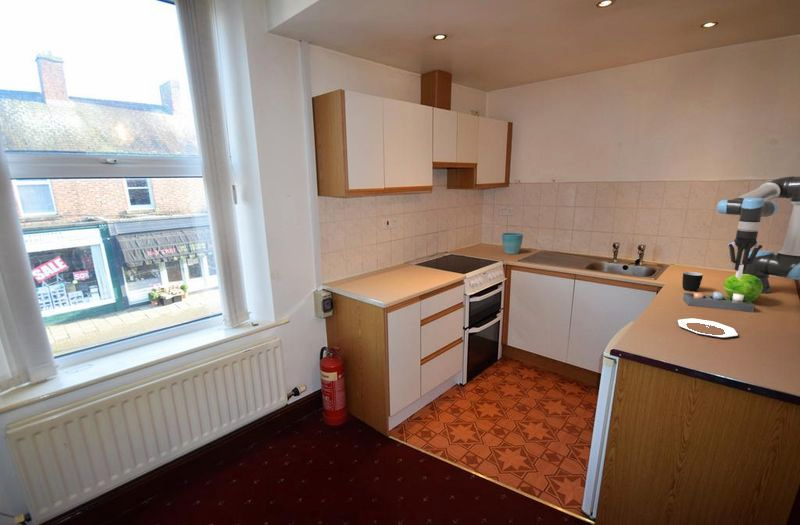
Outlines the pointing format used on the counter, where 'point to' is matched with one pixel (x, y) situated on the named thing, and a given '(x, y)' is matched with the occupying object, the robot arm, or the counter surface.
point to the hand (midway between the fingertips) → (738, 276)
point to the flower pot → (512, 242)
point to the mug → (691, 281)
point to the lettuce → (744, 286)
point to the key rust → (698, 295)
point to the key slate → (718, 295)
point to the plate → (728, 330)
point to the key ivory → (738, 297)
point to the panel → (718, 303)
